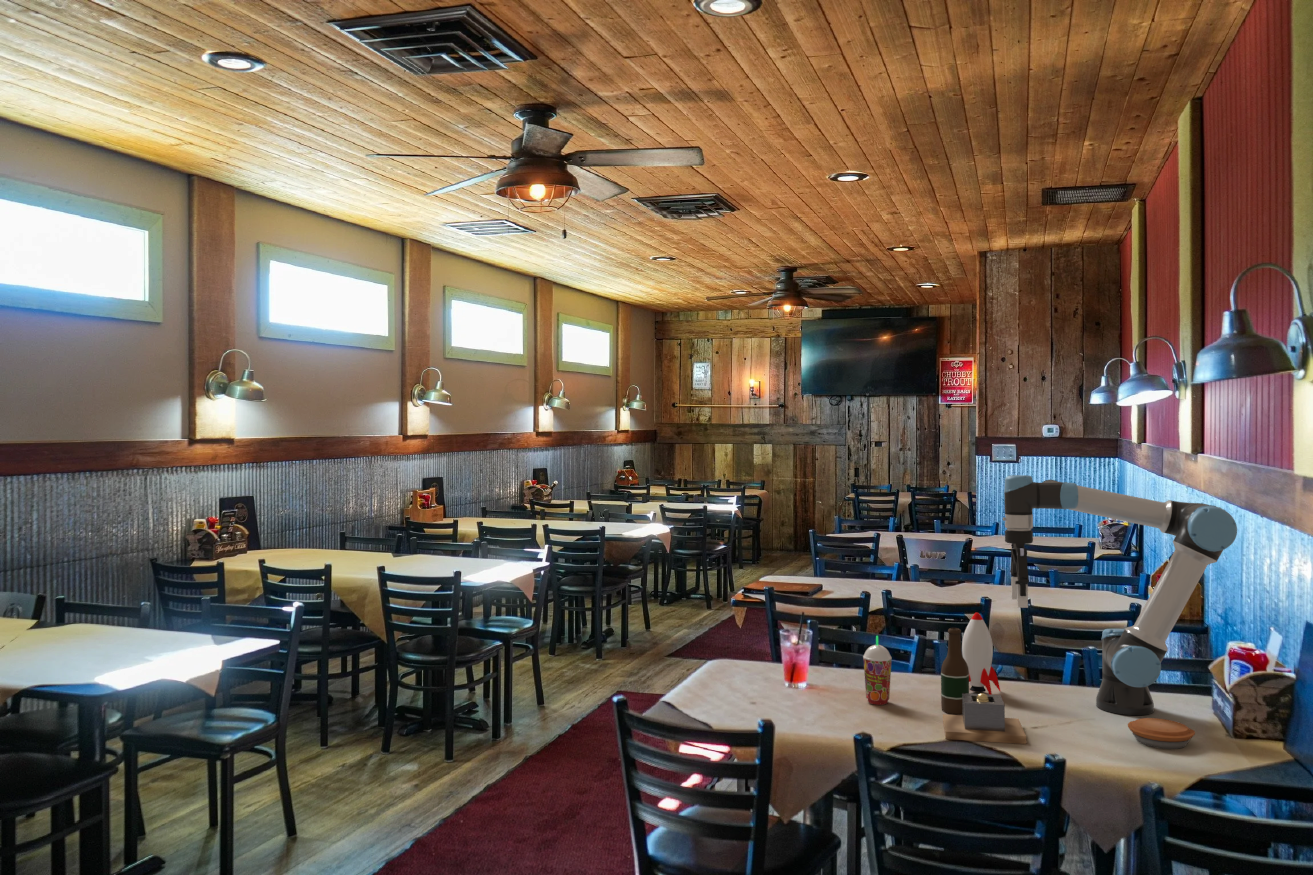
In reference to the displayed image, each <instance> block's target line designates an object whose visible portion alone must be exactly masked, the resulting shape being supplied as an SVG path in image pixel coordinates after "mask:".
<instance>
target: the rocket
mask: <svg viewBox="0 0 1313 875" xmlns="http://www.w3.org/2000/svg"><path fill="white" fill-rule="evenodd" d="M993 646H994V645H993V640H992V636H991V633H990V630H989V628H988V626H987V624H986V623H985V620H984V618H983V617H982V615H981V614H980V613H979V612H975V613H974V614H973V615H972V617H971V618H970V620H969V622H968V624H967V626H966V627H965V630H964V634H963V636H962V641H961V651H962V656H963V658H964V660H965V661H966V663H967V665H968V669H969V686H971V687H969V691H971V692H973V693H974V692H975V693H977V692H978V693H984V692H986V690H987V692H988V694H989V695H993V693H992V688H991V682H992V683H993V684H994V686H995V687H996V688H997V690H998V691H999V692H1001V688H1000V683H999V679H998V675H997V673H996V671H995V668H994V667H993V666H992V662H993V655H994V654H993V653H994V647H993ZM990 681H991V682H990Z"/></svg>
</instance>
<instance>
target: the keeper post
mask: <svg viewBox="0 0 1313 875" xmlns="http://www.w3.org/2000/svg"><path fill="white" fill-rule="evenodd" d="M977 694H978V696H977V701H979V702H988V696H987V695H986V694H987V693H984V692H979V693H977Z"/></svg>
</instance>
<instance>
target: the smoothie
mask: <svg viewBox="0 0 1313 875" xmlns="http://www.w3.org/2000/svg"><path fill="white" fill-rule="evenodd" d="M862 658H863V671H864V687H865V698H866V699H867V702H868V703H870V704H872V705H875V706H877V705H878V706H882V705H886V704H888V702H889V699H890V696H891V695H890V694H891V693H890V690H891V671H892V660H893V659H892V656H891V654H890V652H889V650H888V649H887V648H886V647H884V646H883V645H881V644H879V635H876V636H875V644H873V645H871V646H869V647H868V648H867V649H866V650H865V652H864V654H863V655H862Z"/></svg>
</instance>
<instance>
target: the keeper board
mask: <svg viewBox="0 0 1313 875" xmlns="http://www.w3.org/2000/svg"><path fill="white" fill-rule="evenodd" d="M942 724H943V730H944V731H943V732H944V736H945V740H953V741H955V740H956V741H970V742H971V741H972V742H973V741H974V742H985V743H986V742H988V743H989V742H991V743H1005V744H1016V745H1017V744H1020V745H1027V735H1026V733H1025V730H1024V728H1023V727H1022V723H1021V721H1020V719H1019V718H1017V717H1016V718H1014V717H1013V718H1012V717H1005V732H1001V731H985V730H968V729H965V727H964V723H963V715H954V714H947V713H946V714H945V713H944V714H942Z"/></svg>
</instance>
